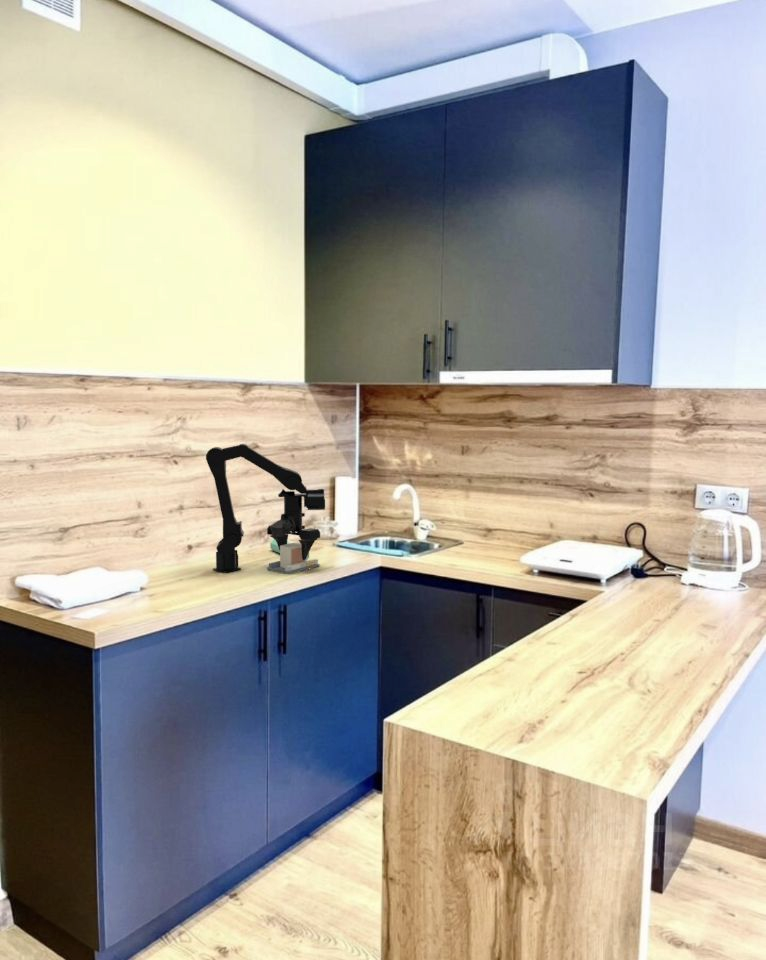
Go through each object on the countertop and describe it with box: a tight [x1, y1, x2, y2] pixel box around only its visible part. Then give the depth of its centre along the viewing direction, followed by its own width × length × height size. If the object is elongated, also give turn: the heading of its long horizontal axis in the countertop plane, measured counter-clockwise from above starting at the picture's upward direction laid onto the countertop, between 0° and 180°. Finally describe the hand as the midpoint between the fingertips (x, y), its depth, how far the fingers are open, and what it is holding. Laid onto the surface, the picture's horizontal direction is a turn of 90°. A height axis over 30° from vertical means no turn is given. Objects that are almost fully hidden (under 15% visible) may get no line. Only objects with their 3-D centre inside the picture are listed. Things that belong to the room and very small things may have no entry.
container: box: [269, 538, 310, 561], centre depth 264 cm, size 6×6×25 cm
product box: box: [279, 541, 306, 568], centre depth 244 cm, size 4×8×7 cm, turn 143°
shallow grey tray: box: [266, 558, 321, 575], centre depth 244 cm, size 14×10×2 cm
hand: (293, 558), depth 244 cm, fingers open, 9 cm apart
